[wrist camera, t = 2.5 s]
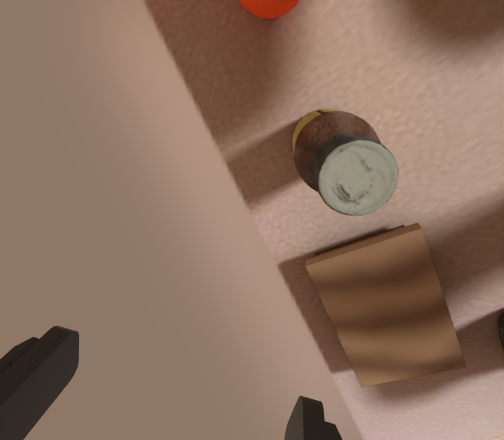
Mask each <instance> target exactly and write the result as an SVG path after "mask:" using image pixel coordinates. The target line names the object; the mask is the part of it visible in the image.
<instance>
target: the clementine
mask: <svg viewBox="0 0 504 440" xmlns="http://www.w3.org/2000/svg"><path fill="white" fill-rule="evenodd" d="M238 1H239V2H240V4H241V5H242V6H243V7H244V8H245V9H246V10H247V11H249V12H251V13H252V14H254V15H256V16H258V17H263V18H276V17H278V16H281V15H283V14H286V13H287V12H288V11H289V10H291V9H292V8H293V7H294V6H295V5H296V4H297V2H298V1H299V0H238Z"/></svg>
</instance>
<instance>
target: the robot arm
mask: <svg viewBox="0 0 504 440" xmlns="http://www.w3.org/2000/svg"><path fill="white" fill-rule="evenodd" d="M78 362H79V333H78V332H77V331H74V330H71V329H67V328H63V327H60V326H54V327H52V328H51V329H50V330H49V331H48V332H46V333H45V334H44V335H43V336H42V337H41V338H40V339H38V338H35V337H32V338H30V339H28V340H26V341H25V342H23V343H21V344H19V345H17V346H15V347H14V348H12V349H11V350H10V351H9V352H8V353H7V354H6V355H5V356H3V357H2V358H1V359H0V440H23V439H24V438H25V437H26V436H27V434H28V433H29V432H30V431H31V429H32V428H33V427H34V426H35V424H36V423H37V422H38V420H39V419H40V418H41V417H42V416H43V414H44V413H45V412H46V410H47V409H48V408H49V407H50V405H51V404H52V403H53V402H54V400H55V399H56V398H57V397H58V396H59V394H60V393H61V392H62V391H63V389H64V388H65V387H66V385H67V384H68V383H69V382H70V380H71V379H72V377H73V376H74V374H75V372H76V369H77V367H78ZM284 440H342V438H341V436H340V434H339V432H338V430H337V428H336V425H335V424H332V423H329V422H325V420H324V409H323V404H322V402H321V401H317V400H314V399H310V398H307V397H303V396H299V398H298V400H297V403H296V405H295V407H294V409H293V412H292V414H291V417H290V419H289V421H288V424H287V428H286V432H285V439H284Z"/></svg>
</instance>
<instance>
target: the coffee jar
mask: <svg viewBox="0 0 504 440" xmlns="http://www.w3.org/2000/svg"><path fill="white" fill-rule="evenodd" d="M499 331H500V338H501V342H502V345H503V348H504V315H503V316H502V317H501V319H500V323H499Z"/></svg>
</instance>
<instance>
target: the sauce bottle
mask: <svg viewBox="0 0 504 440" xmlns="http://www.w3.org/2000/svg"><path fill="white" fill-rule="evenodd" d="M292 143H293V155H294V161H295V165H296V168H297V170H298V172H299V174H300V176H301V178H302V179H303V180H304V182H305V183H306V184H307V185H308V186H310V187H311V188H312V189H314V190H315V191H317V192H319V194H320V196H321V198H322V199H323V201H324V202H325V203H326V204H327V205H328V206H329V207H330V208H331V209H333V210H335V211H337V212H339V213H341V214H345V215H351V216H354V215H358V216H361V215H365V214H369V213H371V212H373V211H375V210H377V209H378V208H380V207H381V206H382V205H383V204H385V203H386V202H387V201H388V200H389V198H390V197H391V195H392V194H393V192H394V190H395V188H396V185H397V182H398V167H397V163H396V160H395V158H394V157H393V155H392V154H391V152H390V151H389V150H388V149H387V148H386V147H385V146H383V145H382V144H381V142H380V140H379V138H378V136H377V134H376V132H375V131H374V129H373V128H372V127H371V126H370V125H369V124H368V123H367V122H366V121H365V120H363V119H361V118H359V117H358V116H355V115H353V114H351V113H348V112H344V111H337V110H331V109H318V110H317V111H312V112H310V113H308V114H307V115H305V116H304V117H303V118H302V119H301V120H300V121H299V122H298V124H297V125H296V128H295V130H294V133H293V139H292Z"/></svg>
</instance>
